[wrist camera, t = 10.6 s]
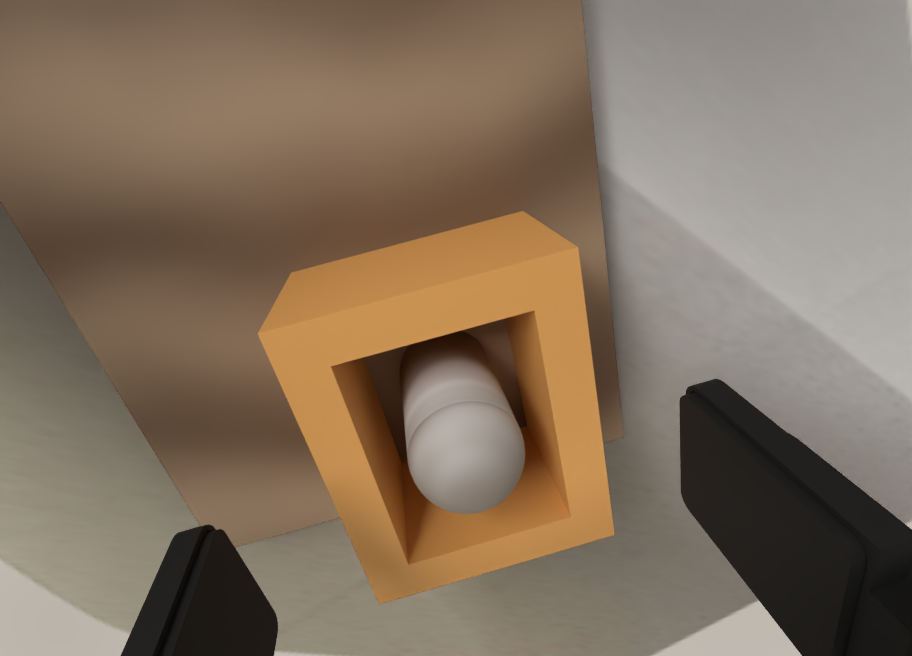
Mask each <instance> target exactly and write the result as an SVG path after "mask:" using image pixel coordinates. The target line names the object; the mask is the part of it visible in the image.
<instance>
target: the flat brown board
mask: <svg viewBox="0 0 912 656" xmlns="http://www.w3.org/2000/svg"><path fill="white" fill-rule="evenodd" d="M0 202H1V203H2V205H3V206H4V208H5V210H6V211H7V213H8V215H9V216H10V218H11V219H12V221H13V223H14V224H15V226H16V228H17V229H18V231H19V232H20V234H21V236H22V237H23V239H24V241H25V242H26V244H27V246H28V247H29V249H30V250H31V252H32V254H33V255H34V257H35V259H36V260H37V262H38V263H39V265H40V267H41V268H42V270H43V272H44V273H45V275H46V276H47V278H48V280H49V281H50V283H51V285H52V286H53V288H54V289H55V291H56V293H57V294H58V296H59V298H60V299H61V301H62V302H63V304H64V306H65V307H66V309H67V311H68V312H69V314H70V316H71V317H72V319H73V320H74V322H75V324H76V325H77V327H78V329H79V330H80V332H81V333H82V335H83V337H84V338H85V340H86V342H87V343H88V345H89V346H90V348H91V350H92V351H93V353H94V355H95V356H96V358H97V359H98V361H99V363H100V364H101V366H102V368H103V369H104V371H105V372H106V374H107V376H108V377H109V379H110V381H111V382H112V384H113V385H114V387H115V389H116V390H117V392H118V394H119V395H120V397H121V399H122V400H123V402H124V403H125V405H126V407H127V408H128V410H129V412H130V413H131V415H132V416H133V418H134V420H135V421H136V423H137V425H138V426H139V428H140V429H141V431H142V433H143V434H144V436H145V438H146V439H147V441H148V442H149V444H150V446H151V447H152V449H153V451H154V452H155V454H156V455H157V457H158V459H159V460H160V462H161V464H162V465H163V467H164V469H165V470H166V472H167V473H168V475H169V477H170V478H171V480H172V482H173V483H174V485H175V486H176V488H177V490H178V491H179V493H180V495H181V496H182V498H183V499H184V501H185V503H186V504H187V506H188V508H189V509H190V511H191V512H192V514H193V516H194V517H195V519H196V521H197V522H198V524H199V525H200V526H204V525H208V524H210V525H212V526H214V528H215V529H216V530H218V529H222V530H224V531H225V533H226V534H227V536H228V537H229V539H230V541H231V542H232V544H233V545H234V547H238V546H242V545H245V544H249V543H253V542H256V541H260V540H263V539H267V538H270V537H274V536H277V535H281V534H284V533H288V532H291V531H295V530H298V529H302V528H306V527H309V526H313V525H316V524H320V523H323V522H327V521H330V520H334V519H337V518H340V516H339V514H338V511H337V509H336V507H335V505H334V502H333V500H332V498H331V496H330V494H329V491H328V489H327V487H326V485H325V482H324V480H323V478H322V476H321V474H320V471H319V469H318V467H317V465H316V462H315V460H314V458H313V456H312V454H311V451H310V449H309V447H308V445H307V442H306V440H305V438H304V436H303V434H302V431H301V429H300V427H299V425H298V422H297V420H296V418H295V416H294V414H293V411H292V409H291V407H290V405H289V402H288V400H287V398H286V396H285V394H284V391H283V389H282V387H281V385H280V382H279V380H278V378H277V376H276V374H275V371H274V369H273V367H272V365H271V362H270V360H269V358H268V356H267V354H266V351H265V349H264V347H263V345H262V342H261V340H260V338H259V336H258V332H259V331H260V329H261V327H262V325H263V323H264V321H265V320H266V318H267V316H268V314H269V312H270V310H271V309H272V307H273V305H274V303H275V301H276V299H277V298H278V296H279V294H280V292H281V290H282V288H283V287H284V285H285V283H286V281H287V279H288V278H289V276H290V274H291V273H292V272H295V271H299V270H303V269H307V268H310V267H314V266H318V265H322V264H325V263H329V262H333V261H337V260H341V259H344V258H348V257H352V256H356V255H359V254H363V253H367V252H371V251H374V250H378V249H382V248H386V247H389V246H393V245H397V244H401V243H404V242H408V241H412V240H416V239H419V238H423V237H427V236H431V235H434V234H438V233H442V232H446V231H449V230H453V229H457V228H461V227H464V226H468V225H472V224H476V223H479V222H483V221H487V220H491V219H494V218H498V217H502V216H506V215H509V214H513V213H517V212H521V211H524V212H525V213H527V214H529V215H530V216H532V217H533V218H535V219H536V220H538V221H539V222H541V223H542V224H544V225H545V226H547V227H548V228H550V229H551V230H553V231H554V232H556V233H557V234H559V235H560V236H562V237H563V238H565V239H566V240H568V241H570V242H571V243H573V244H574V245H576V246H577V247H578V250H579V258H580V266H581V274H582V282H583V289H584V297H585V305H586V313H587V321H588V329H589V337H590V345H591V353H592V360H593V368H594V376H595V384H596V392H597V400H598V408H599V416H600V424H601V431H602V439H603V443H606V442H609V441H613V440H616V439H620V438H623V437H624V436H623V425H622V415H621V405H620V394H619V384H618V374H617V363H616V353H615V343H614V332H613V322H612V312H611V301H610V291H609V281H608V270H607V260H606V250H605V240H604V229H603V219H602V209H601V198H600V188H599V178H598V167H597V157H596V147H595V136H594V126H593V116H592V105H591V95H590V85H589V74H588V64H587V54H586V43H585V33H584V23H583V12H582V2H581V0H0ZM364 358H365V361H366V364H367V367H368V370H369V372H370V375H371V378H372V381H373V384H374V387H375V389H376V392H377V395H378V398H379V401H380V403H381V406H382V409H383V412H384V415H385V418H386V420H387V423H388V426H389V429H390V432H391V434H392V437H393V440H394V443H395V446H396V449H397V451H398V454H399V457H400V460H401V462H404V461H407V460H408V466H409V470H410V473H411V476H412V478H413V480H414V482H415V484H416V486H417V487H418V489H419V490H420V492H421V493H422V494H423V495H424V496H425V497H426V498H427V499H428V500H429V501H431V502H432V503H433V504H435V505H436V506H438V507H440V508H442V509H444V510H446V511H449V512H453V513H459V514H475V513H480V512H484V511H487V510H489V509H491V508H493V507H495V506H497V505H498V504H500V503H501V502H502V501H503V500H505V499H506V498H507V497H508V496H509V495H510V494H511V492H512V491H513V490H514V488H515V487H516V485H517V483H518V481H519V480H520V477H521V474H522V471H523V468H524V463H525V446H524V439H523V436H522V433H521V430H520V428H523V427H527V423H526V418H525V413H524V408H523V403H522V398H521V394H520V389H519V384H518V379H517V374H516V369H515V364H514V360H513V355H512V350H511V345H510V340H509V335H508V330H507V325H506V321H505V319H501V320H498V321H494V322H490V323H487V324H483V325H479V326H476V327H472V328H468V329H465V330H461V331H458V332H454V333H450V334H447V335H443V336H439V337H436V338H432V339H428V340H425V341H421V342H418V343H414V344H410V345H407V346H403V347H399V348H396V349H392V350H388V351H385V352H381V353H378V354H374V355H370V356H367V357H364Z"/></svg>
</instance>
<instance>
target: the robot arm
mask: <svg viewBox="0 0 912 656" xmlns="http://www.w3.org/2000/svg"><path fill="white" fill-rule="evenodd" d="M680 459H681V494H682V498H683V500H684V503H685V505H686V507H687V508H688V510H689V511H690V512H691V513H692V515H693V516H694V517H695V519H696V520H697V521H698V522H699V524H700V525H701V526H702V528H703V529H704V530H705V531H706V533H707V534H708V535H709V537H710V538H711V539H712V540H713V542H714V543H715V544H716V546H717V547H718V548H719V549H720V551H721V552H722V553H723V555H724V556H725V557H726V558H727V560H728V561H729V562H730V564H731V565H732V566H733V567H734V569H735V570H736V571H737V573H738V574H739V575H740V576H741V578H742V579H743V580H744V582H745V583H746V584H747V585H748V587H749V588H750V589H751V591H752V592H753V593H754V594H755V596H756V597H757V598H758V600H759V601H760V602H761V603H762V605H763V606H764V607H765V609H766V610H767V611H768V612H769V614H770V615H771V616H772V618H773V619H774V620H775V621H776V623H777V624H778V625H779V626H780V628H781V629H782V630H783V632H784V633H785V634H786V636H787V637H788V638H789V639H790V641H791V642H792V643H793V644H794V646H795V647H796V648H797V650H798V651H799V652H800V653H801V655H802V656H912V530H911V529H910V528H909V527H908V526H906V525H905V524H904V523H903V522H901V521H900V520H899V519H898V518H896V517H895V516H894V515H893V514H891V513H890V512H889V511H888V510H886V509H885V508H884V507H883V506H881V505H880V504H879V503H877V502H876V501H875V500H874V499H872V498H871V497H870V496H869V495H867V494H866V493H865V492H864V491H862V490H861V489H860V488H859V487H857V486H856V485H855V484H854V483H852V482H851V481H850V480H849V479H847V478H846V477H845V476H843V475H842V474H841V473H840V472H838V471H837V470H836V469H835V468H833V467H832V466H831V465H830V464H828V463H827V462H826V461H825V460H823V459H822V458H821V457H820V456H818V455H817V454H816V453H814V452H813V451H812V450H811V449H809V448H808V447H807V446H806V445H804V444H803V443H802V442H801V441H799V440H798V439H797V438H795V437H794V436H792V435H791V434H789V433H787V432H785V431H784V430H783V429H782V428H780V427H779V426H778V425H777V424H775V423H774V422H773V421H772V420H770V419H769V418H768V417H767V416H765V415H764V414H763V413H762V412H760V411H759V410H758V409H757V408H755V407H754V406H753V405H752V404H750V403H749V402H748V401H747V400H745V399H744V398H743V397H742V396H740V395H739V394H738V393H737V392H735V391H734V390H733V389H732V388H730V387H729V386H728V385H727V384H725V383H724V382H723V381H721V380H719V379H713V380H710V381H706V382H703V383H699V384H696V385H692V386H690V387H688V388H687V390H686V395H684V396H682V397H681V398H680ZM277 632H278V622H277V617H276V614H275V612H274V610H273V608H272V607H271V605H270V603H269V602H268V600H267V599H266V597H265V595H264V594H263V592H262V590H261V589H260V587H259V586H258V584H257V582H256V581H255V579H254V578H253V576H252V574H251V573H250V571H249V570H248V568H247V566H246V565H245V563H244V562H243V560H242V558H241V557H240V555H239V553H238V552H237V550H236V549H235V547H234V545H233V544H232V542H231V541H230V539H229V537H228V536H227V534H226V533H225V531H224V530H222V529H218V530H216V529H215V528H214V526H212V525H210V524H208V525H204V526H200V527H197V528H193V529H190V530H186V531H183V532H179V533H177V534H176V535H175V536H174V538H173V539H172V541H171V543H170V546H169V548H168V550H167V552H166V555H165V557H164V559H163V562H162V564H161V566H160V568H159V571H158V573H157V575H156V577H155V580H154V582H153V584H152V586H151V589H150V591H149V593H148V595H147V598H146V600H145V602H144V604H143V607H142V609H141V611H140V613H139V616H138V618H137V620H136V622H135V625H134V627H133V629H132V631H131V634H130V636H129V638H128V641H127V643H126V645H125V648H124V649H123V652H122V654H121V656H274V651H275V645H276V639H277Z"/></svg>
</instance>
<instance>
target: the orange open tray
mask: <svg viewBox="0 0 912 656" xmlns="http://www.w3.org/2000/svg"><path fill="white" fill-rule="evenodd" d="M501 319H505V321H506V325H507V330H508V335H509V340H510V345H511V350H512V355H513V360H514V364H515V369H516V374H517V379H518V384H519V389H520V394H521V398H522V403H523V408H524V413H525V418H526V423H527V427H523V428H520V430H521V433H522V436H523V439H524V446H525V463H524V468H523V471H522V474H521V477H520V480H519V481H518V483H517V485H516V487H515V488H514V490H513V491H512V492H511V494H510V495H509V496H508V497H507V498H506V499H505V500H503V501H502V502H501V503H500V504H498V505H497V506H495V507H493V508H491V509H489V510H487V511H484V512H480V513H475V514H459V513H453V512H449V511H446V510H444V509H442V508H440V507H438V506H436V505H435V504H433V503H432V502H431V501H429V500H428V499H427V498H426V497H425V496H424V495H423V494H422V493H421V492H420V490H419V489H418V487H417V486H416V484H415V482H414V480H413V478H412V476H411V473H410V470H409V466H408V460H407V461H404V462H401V460H400V457H399V454H398V451H397V449H396V446H395V443H394V440H393V437H392V434H391V432H390V429H389V426H388V423H387V420H386V418H385V415H384V412H383V409H382V406H381V403H380V401H379V398H378V395H377V392H376V389H375V387H374V384H373V381H372V378H371V375H370V372H369V370H368V367H367V364H366V361H365V358H364V357H367V356H370V355H374V354H378V353H381V352H385V351H388V350H392V349H396V348H399V347H403V346H407V345H410V344H414V343H418V342H421V341H425V340H428V339H432V338H436V337H439V336H443V335H447V334H450V333H454V332H458V331H461V330H465V329H468V328H472V327H476V326H479V325H483V324H487V323H490V322H494V321H498V320H501ZM258 336H259V338H260V340H261V342H262V345H263V347H264V349H265V351H266V354H267V356H268V358H269V360H270V362H271V365H272V367H273V369H274V371H275V374H276V376H277V378H278V380H279V382H280V385H281V387H282V389H283V391H284V394H285V396H286V398H287V400H288V402H289V405H290V407H291V409H292V411H293V414H294V416H295V418H296V420H297V422H298V425H299V427H300V429H301V431H302V434H303V436H304V438H305V440H306V442H307V445H308V447H309V449H310V451H311V454H312V456H313V458H314V460H315V462H316V465H317V467H318V469H319V471H320V474H321V476H322V478H323V480H324V482H325V485H326V487H327V489H328V491H329V494H330V496H331V498H332V500H333V502H334V505H335V507H336V509H337V511H338V514H339V516H340V518H341V520H342V522H343V525H344V527H345V529H346V531H347V534H348V536H349V538H350V540H351V542H352V545H353V547H354V549H355V551H356V554H357V556H358V558H359V560H360V562H361V565H362V567H363V569H364V571H365V574H366V576H367V578H368V580H369V582H370V585H371V587H372V589H373V591H374V594H375V596H376V598H377V600H378V602H379V604H383V603H386V602H390V601H393V600H396V599H400V598H403V597H406V596H410V595H413V594H417V593H420V592H423V591H427V590H430V589H433V588H437V587H440V586H444V585H447V584H450V583H454V582H457V581H461V580H464V579H467V578H471V577H474V576H477V575H481V574H484V573H488V572H491V571H494V570H498V569H501V568H504V567H508V566H511V565H515V564H518V563H521V562H525V561H528V560H532V559H535V558H538V557H542V556H545V555H548V554H552V553H555V552H559V551H562V550H565V549H569V548H572V547H575V546H579V545H582V544H586V543H589V542H592V541H596V540H599V539H603V538H606V537H609V536H613V535H615V534H614V526H613V518H612V510H611V502H610V494H609V487H608V479H607V471H606V463H605V455H604V447H603V439H602V431H601V424H600V416H599V408H598V400H597V392H596V384H595V376H594V368H593V360H592V353H591V345H590V337H589V329H588V321H587V313H586V305H585V297H584V289H583V282H582V274H581V266H580V258H579V250H578V247H577V246H576V245H574V244H573V243H571V242H570V241H568V240H566V239H565V238H563V237H562V236H560V235H559V234H557V233H556V232H554V231H553V230H551V229H550V228H548V227H547V226H545V225H544V224H542V223H541V222H539V221H538V220H536V219H535V218H533V217H532V216H530V215H529V214H527V213H525V212H524V211H521V212H517V213H513V214H509V215H506V216H502V217H498V218H494V219H491V220H487V221H483V222H479V223H476V224H472V225H468V226H464V227H461V228H457V229H453V230H449V231H446V232H442V233H438V234H434V235H431V236H427V237H423V238H419V239H416V240H412V241H408V242H404V243H401V244H397V245H393V246H389V247H386V248H382V249H378V250H374V251H371V252H367V253H363V254H359V255H356V256H352V257H348V258H344V259H341V260H337V261H333V262H329V263H325V264H322V265H318V266H314V267H310V268H307V269H303V270H299V271H295V272H292V273H291V274H290V276H289V278H288V279H287V281H286V283H285V285H284V287H283V288H282V290H281V292H280V294H279V296H278V298H277V299H276V301H275V303H274V305H273V307H272V309H271V310H270V312H269V314H268V316H267V318H266V320H265V321H264V323H263V325H262V327H261V329H260V331H259V332H258Z"/></svg>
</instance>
